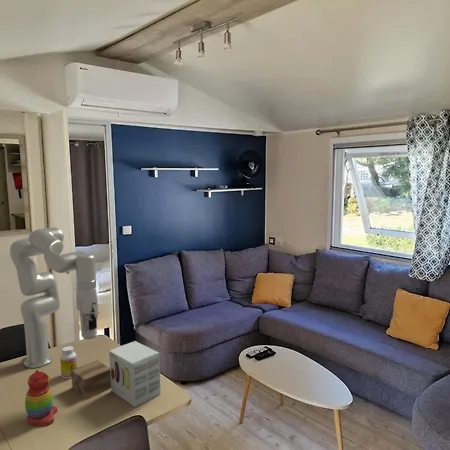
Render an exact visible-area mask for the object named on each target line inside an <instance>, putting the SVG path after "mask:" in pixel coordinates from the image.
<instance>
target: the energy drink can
mask: <svg viewBox="0 0 450 450" xmlns="http://www.w3.org/2000/svg"><path fill="white" fill-rule="evenodd" d="M91 312H94V311H93V310H92V311H91ZM92 315H94V313H93V314H91V317H92ZM79 316H80V329H81V332H80V333H81V337H82V338H83V340H92V339H95V338H96V336H97V334H98V329H97V328H98V327H97V328H95V329H92V330H89V320H90V319H89V315H88V314H85V313H83V308H82V306H81V307H80V311H79Z"/></svg>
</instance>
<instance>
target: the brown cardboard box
mask: <svg viewBox="0 0 450 450" xmlns="http://www.w3.org/2000/svg"><path fill="white" fill-rule="evenodd" d="M71 374H72V378H71V386H72V389H73V390H74V391H76V392H77V393H78V394H80V396H82V397H83V398H85V399H88V398H90V397H93V396H96V395H97V394H100V393H101V392H102V393H103V392H104V391H107V390H109V389H111V377H110V366H107V365H106V364H104V363H103V362H101V361H99V360H94V361H92V362H89V363H87V364H84V365H81V366H79V367H78V366H77V368H75V369H73V370H71Z"/></svg>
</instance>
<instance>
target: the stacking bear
mask: <svg viewBox="0 0 450 450" xmlns="http://www.w3.org/2000/svg"><path fill="white" fill-rule="evenodd" d="M50 382H51V377H50V376H49V375H48V374H46V373H45V372H44V371H39V369H37V370H35V372H33V373H32V374H31V375H30V376H28V379H27V385H28V387H29V388H28V390H27V392H26V395H25V400H24V406H25V407H24V408H25V411H26V413H27V418H26V422H27V424H29V425H31V426H35V427H36V426H37V427H38V426H39V427H43V426H49V425H51V424H53V423H54V421H55V417H54V415H55V414H56V413H57V412H58V411H59V409H58V406H56V405H53V404H54V397H53V396H54V395H53V393H52V389H51V388H50V385H49V384H50Z"/></svg>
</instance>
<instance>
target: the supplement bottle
mask: <svg viewBox="0 0 450 450" xmlns="http://www.w3.org/2000/svg"><path fill="white" fill-rule="evenodd" d="M61 351H62V354H61V355H60V356H59V357H60V374H61V375H60V376H61V378H62V379H65V380H70V379H72V374H71V370H73V369H75V368H78V364H77V353H76V352H75V351H74V347H73V346H72V345H71V346H70V345H68V346H65V347H63V348H62V349H61Z"/></svg>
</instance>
